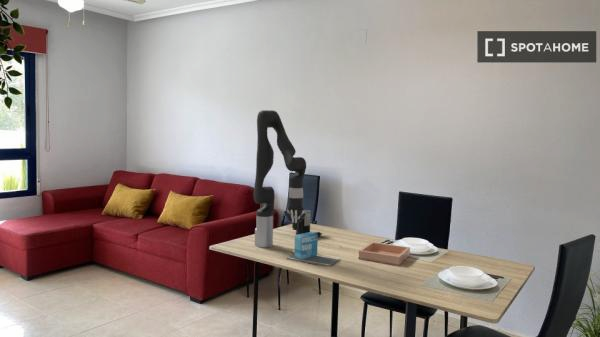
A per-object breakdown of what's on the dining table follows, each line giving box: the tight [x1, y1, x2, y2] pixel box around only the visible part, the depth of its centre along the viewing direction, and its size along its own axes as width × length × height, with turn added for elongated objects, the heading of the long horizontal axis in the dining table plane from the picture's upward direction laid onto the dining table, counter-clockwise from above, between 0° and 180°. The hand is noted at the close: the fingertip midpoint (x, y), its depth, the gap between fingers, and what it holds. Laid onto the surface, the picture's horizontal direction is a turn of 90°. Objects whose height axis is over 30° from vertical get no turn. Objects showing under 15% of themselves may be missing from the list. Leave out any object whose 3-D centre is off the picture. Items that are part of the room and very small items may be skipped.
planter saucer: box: [358, 241, 411, 266], centre depth 235 cm, size 21×20×4 cm
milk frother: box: [295, 209, 323, 237], centre depth 278 cm, size 14×16×15 cm
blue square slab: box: [294, 231, 319, 260], centre depth 230 cm, size 12×4×12 cm, turn 132°
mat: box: [286, 253, 341, 268], centre depth 229 cm, size 24×12×1 cm, turn 62°
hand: (295, 229), depth 232 cm, fingers closed
